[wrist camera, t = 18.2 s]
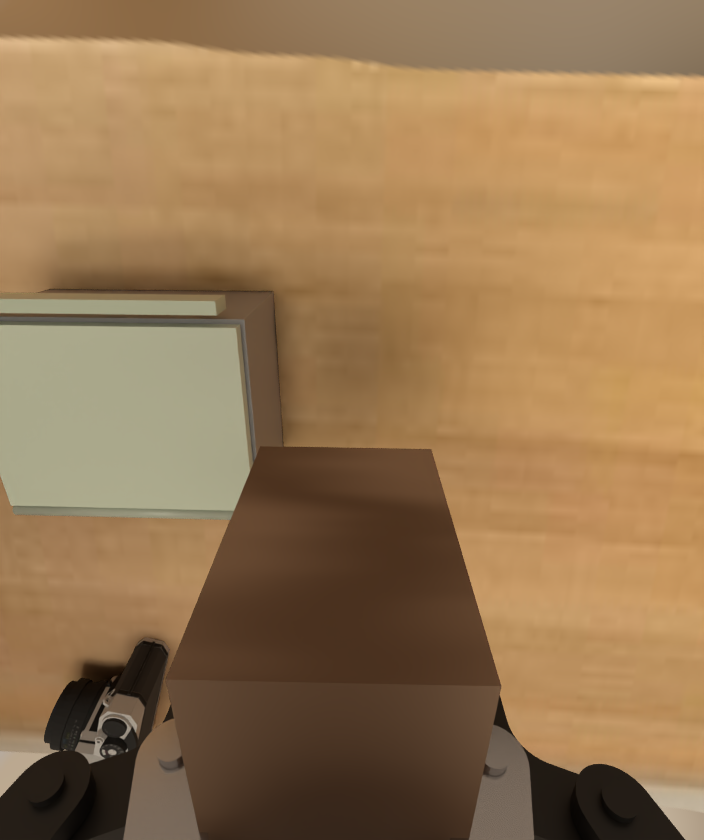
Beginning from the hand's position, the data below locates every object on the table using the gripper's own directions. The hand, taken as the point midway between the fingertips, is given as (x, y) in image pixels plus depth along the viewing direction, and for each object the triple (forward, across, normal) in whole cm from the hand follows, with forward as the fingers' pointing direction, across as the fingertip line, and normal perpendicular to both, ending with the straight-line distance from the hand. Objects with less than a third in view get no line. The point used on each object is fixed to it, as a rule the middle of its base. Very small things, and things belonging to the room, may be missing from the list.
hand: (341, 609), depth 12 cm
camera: (+19, +20, +29) cm, 40 cm away
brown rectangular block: (+1, 0, 0) cm, 1 cm away
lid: (+11, +11, +5) cm, 17 cm away
